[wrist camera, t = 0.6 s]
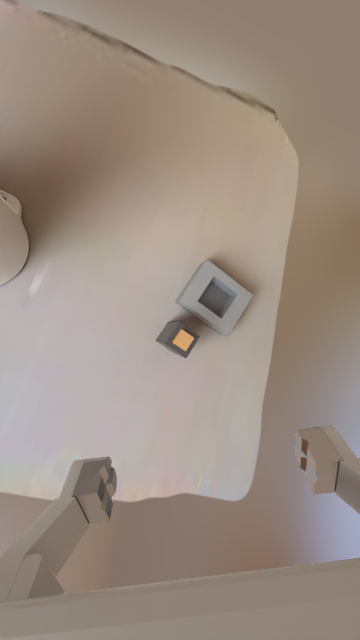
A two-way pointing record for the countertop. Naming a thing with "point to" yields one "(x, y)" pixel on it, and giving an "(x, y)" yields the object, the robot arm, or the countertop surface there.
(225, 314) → the socket plate
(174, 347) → the plug
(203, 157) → the countertop surface
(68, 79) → the countertop surface
